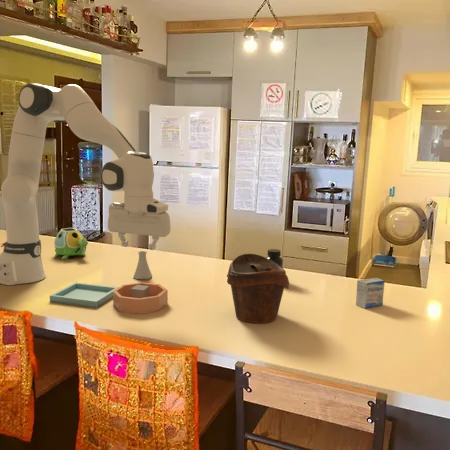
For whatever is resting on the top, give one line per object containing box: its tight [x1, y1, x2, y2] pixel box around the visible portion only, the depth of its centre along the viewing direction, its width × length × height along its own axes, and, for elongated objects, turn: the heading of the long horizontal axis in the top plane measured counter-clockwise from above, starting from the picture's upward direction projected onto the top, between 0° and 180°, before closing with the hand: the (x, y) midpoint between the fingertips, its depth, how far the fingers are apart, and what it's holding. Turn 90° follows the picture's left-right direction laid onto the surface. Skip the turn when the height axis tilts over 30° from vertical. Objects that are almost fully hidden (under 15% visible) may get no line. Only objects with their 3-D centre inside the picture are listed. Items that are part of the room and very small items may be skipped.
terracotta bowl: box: [112, 282, 169, 315], centre depth 160 cm, size 16×16×5 cm
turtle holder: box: [54, 227, 89, 260], centre depth 216 cm, size 12×18×12 cm
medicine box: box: [355, 277, 385, 310], centre depth 163 cm, size 8×4×9 cm, turn 118°
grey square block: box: [131, 285, 150, 298], centre depth 160 cm, size 4×4×5 cm
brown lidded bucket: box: [226, 253, 290, 325], centre depth 150 cm, size 18×20×18 cm
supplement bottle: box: [265, 248, 284, 269], centre depth 187 cm, size 7×7×12 cm
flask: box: [132, 250, 153, 280], centre depth 188 cm, size 7×7×10 cm
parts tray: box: [49, 282, 119, 308], centre depth 166 cm, size 17×15×2 cm
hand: (138, 247), depth 157 cm, fingers open, 8 cm apart
